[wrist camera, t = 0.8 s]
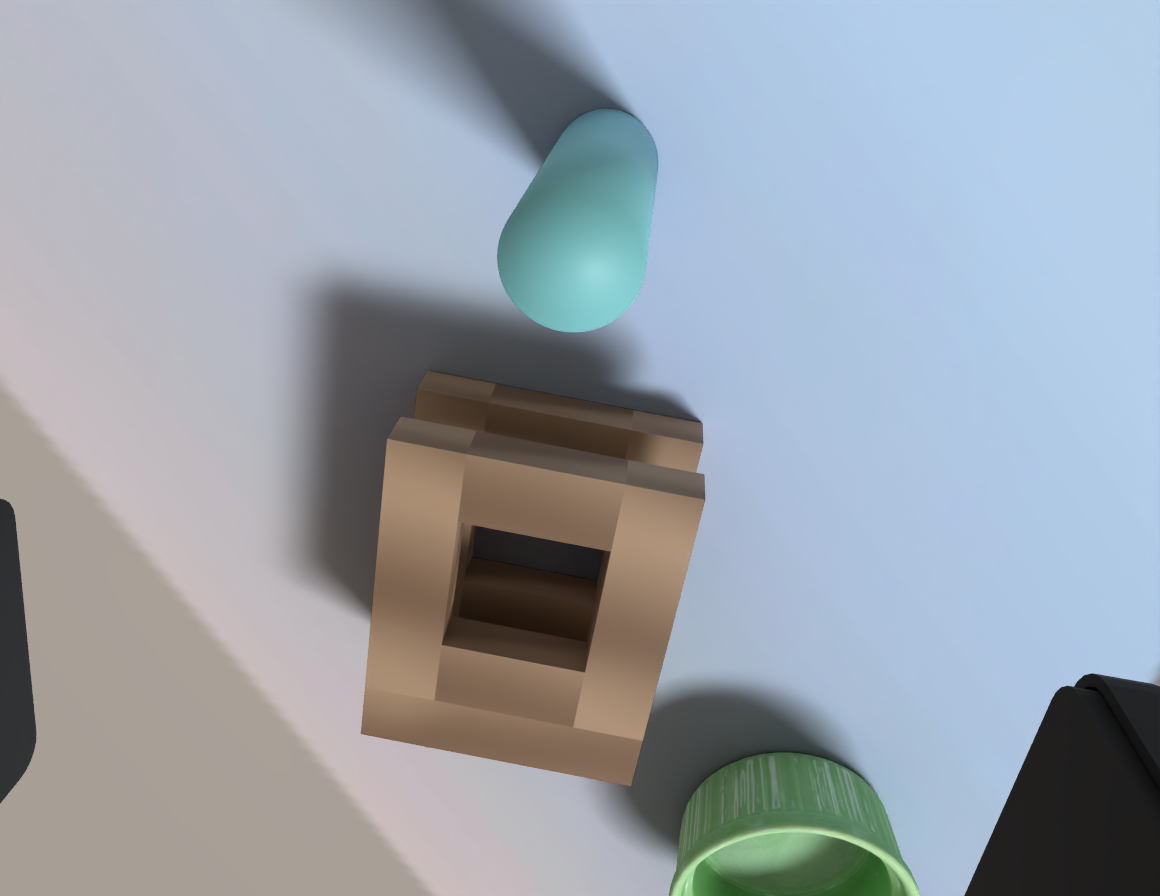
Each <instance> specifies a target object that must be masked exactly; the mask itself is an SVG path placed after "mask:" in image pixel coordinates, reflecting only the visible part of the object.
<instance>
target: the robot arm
mask: <svg viewBox="0 0 1160 896" xmlns="http://www.w3.org/2000/svg"><path fill="white" fill-rule="evenodd" d="M35 743H36V724H35V715H34V704H33V694H32V684H31V674H30V663H29V654H28V643H27V633H26V622H25V614H24V603H23V592H22V582H21V571H20V562H19V551H18V541H17V531H16V521H15V515H14V510H13V508H12V506H11V505H10V503H9V502H7V501H6V500H3V499H0V803H1V802H2V801H3V799H4V798H5V797H6V796H7V794H8V793H9V792H10V791H11V789H12V788H13V787H14V786H15V785H16V783H17V782H18V781H19V780H20V778H21V777H22V775H23V774H24V772H25V771H26V769H27V767H28V765H29V763H30V761H31V758H32V755H33V752H34V748H35ZM965 896H1160V687H1159V686H1157V685H1154V684H1150V683H1144V682H1138V681H1132V680H1127V679H1121V678H1115V677H1110V676H1104V675H1098V674H1088V675H1084V676H1083V677H1082V678H1081V679H1080V680H1079V681H1077V683H1076V685H1075V686H1074V687H1071V686H1065V687H1061V688H1060V689H1059V690H1058V691H1057V692H1056V693H1055V695H1054V697H1053V698H1052V700H1051V703H1050V705H1049V707H1048V709H1047V711H1046V714H1045V716H1044V718H1043V720H1042V723H1041V725H1040V727H1039V729H1038V732H1037V734H1036V736H1035V738H1034V741H1033V743H1032V745H1031V747H1030V750H1029V752H1028V754H1027V756H1026V759H1025V761H1024V763H1023V765H1022V768H1021V770H1020V772H1019V774H1018V777H1017V779H1016V781H1015V783H1014V786H1013V788H1012V790H1011V792H1010V795H1009V797H1008V799H1007V801H1006V804H1005V806H1004V808H1003V810H1002V812H1001V815H1000V817H999V819H998V821H997V824H996V826H995V828H994V830H993V833H992V835H991V837H990V839H989V842H988V844H987V846H986V848H985V851H984V853H983V855H982V857H981V860H980V862H979V864H978V866H977V869H976V871H975V873H974V875H973V878H972V880H971V882H970V884H969V887H968V889H967V891H966V893H965Z"/></svg>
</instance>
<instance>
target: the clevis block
mask: <svg viewBox="0 0 1160 896" xmlns="http://www.w3.org/2000/svg"><path fill="white" fill-rule="evenodd" d="M702 447H703V423H699V422H694V421H688V420H683V419H678V418H673V417H668V416H662V415H657V414H652V413H647V412H641V411H636V410H631V409H626V408H621V407H615V406H610V405H605V404H600V403H594V402H589V401H584V400H579V399H574V398H568V397H563V396H558V395H553V394H547V393H542V392H537V391H532V390H526V389H521V388H516V387H511V386H506V385H500V384H495V383H490V382H485V381H479V380H474V379H469V378H464V377H459V376H453V375H448V374H443V373H438V372H432V371H427V372H426V374H425V376H424V377H423V379H422V381H421V382H420V384H419V386H418V388H417V390H416V400H415V410H414V419H412V418H407V417H402V416H400V418H399V420H398V421H397V423H396V425H395V426H394V428H393V430H392V431H391V433H390V435H389V436H388V438H387V446H386V457H385V468H384V479H383V491H382V502H381V513H380V524H379V536H378V547H377V558H376V569H375V581H374V592H373V603H372V615H371V626H370V637H369V648H368V660H367V671H366V682H365V693H364V705H363V716H362V727H361V734H364V735H369V736H374V737H379V738H384V739H389V740H395V741H400V742H405V743H410V744H415V745H420V746H426V747H431V748H436V749H441V750H446V751H451V752H456V753H462V754H467V755H472V756H477V757H482V758H487V759H493V760H498V761H503V762H508V763H513V764H518V765H523V766H529V767H534V768H539V769H544V770H549V771H554V772H560V773H565V774H570V775H575V776H580V777H585V778H590V779H596V780H601V781H606V782H611V783H616V784H621V785H627V786H631V784H632V780H633V777H634V773H635V769H636V765H637V761H638V757H639V753H640V750H641V746H642V742H643V738H644V734H645V730H646V726H647V723H648V719H649V715H650V711H651V707H652V703H653V699H654V696H655V692H656V688H657V684H658V680H659V676H660V672H661V669H662V665H663V661H664V657H665V653H666V649H667V645H668V642H669V638H670V634H671V630H672V626H673V622H674V618H675V614H676V611H677V607H678V603H679V599H680V595H681V591H682V587H683V584H684V580H685V576H686V572H687V568H688V564H689V560H690V557H691V553H692V549H693V545H694V541H695V537H696V533H697V530H698V526H699V522H700V518H701V514H702V510H703V506H704V503H705V480H704V474H699V473H696V471H697V467H698V463H699V459H700V455H701V451H702ZM476 526H480V527H485V528H491V529H496V530H501V531H506V532H511V533H517V534H522V535H527V536H532V537H537V538H542V539H548V540H553V541H558V542H563V543H568V544H574V545H579V546H584V547H589V548H594V549H600V550H604V553H603V557H602V562H601V567H600V572H599V576H598V581H594V580H589V579H584V578H579V577H573V576H568V575H563V574H558V573H553V572H547V571H542V570H537V569H532V568H527V567H521V566H516V565H511V564H506V563H501V562H495V561H490V560H485V559H480V558H475V557H472V552H473V545H474V538H475V531H476Z"/></svg>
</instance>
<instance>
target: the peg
mask: <svg viewBox="0 0 1160 896" xmlns="http://www.w3.org/2000/svg"><path fill="white" fill-rule="evenodd" d="M657 171H658V154H657V149H656V145H655V143H654V140H653V138H652V136H651V134H650V133H649V131H648V130H647V129H646V127H645V126H644V125H643V124H642V123H641V122H640V121H639V120H637V119H636V118H635V117H633V116H631V115H630V114H628V113H625V112H623V111H619V110H615V109H597V110H593V111H589V112H587V113H584V114H582V115H581V116H579V117H577V118H576V119H575V120H573V121H572V122H571V123H570V124H569V125H568V126H567V127H566V129H565V130H564V131H563V133H562V134H561V136H560V138H559V139H558V141H557V142H556V144H555V146H554V147H553V149H552V150H551V152H550V154H549V155H548V157H547V158H546V160H545V162H544V163H543V165H542V166H541V168H540V169H539V171H538V173H537V174H536V176H535V177H534V179H533V181H532V182H531V184H530V185H529V187H528V189H527V190H526V192H525V193H524V195H523V197H522V198H521V200H520V201H519V203H518V205H517V206H516V208H515V209H514V211H513V213H512V214H511V216H510V217H509V219H508V221H507V222H506V224H505V226H504V228H503V231H502V234H501V236H500V240H499V245H498V254H497V260H498V270H499V275H500V278H501V281H502V284H503V286H504V288H505V290H506V292H507V294H508V296H509V297H510V299H511V300H512V302H513V303H514V304H515V305H516V307H517V308H518V309H519V310H520V311H521V312H523V313H524V314H525V315H526V316H527V317H529V318H530V319H531V320H533V321H535V322H536V323H538V324H540V325H542V326H545V327H547V328H550V329H553V330H557V331H563V332H585V331H590V330H594V329H598V328H600V327H603V326H605V325H607V324H609V323H611V322H613V321H614V320H616V319H617V318H618V317H620V316H621V315H622V314H623V313H624V312H625V311H626V310H627V309H628V308H629V307H630V306H631V304H632V303H633V302H634V300H635V299H636V297H637V295H638V294H639V291H640V289H641V287H642V284H643V280H644V277H645V270H646V262H647V254H648V246H649V237H650V229H651V221H652V212H653V204H654V196H655V188H656V179H657Z"/></svg>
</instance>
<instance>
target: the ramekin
mask: <svg viewBox="0 0 1160 896" xmlns="http://www.w3.org/2000/svg"><path fill="white" fill-rule="evenodd" d="M669 896H920V892H919V889H918V886H917V884H916V882H915V880H914V878H913V876H912V874H911V871H910V870H909V868H908V867H907V865H906V864H905V862H904V861H903V859H902V856H901V854H900V851H899V848H898V845H897V842H896V839H895V836H894V833H893V830H892V827H891V825H890V822H889V819H888V816H887V814H886V811H885V809H884V806H883V804H882V802H881V801H880V799H879V797H878V796H877V794H876V793H875V792H874V791H873V789H872V788H871V787H870V786H869V785H868V784H867V783H866V782H865V781H864V780H863V779H862V778H860V777H859V776H858V775H857V774H855V773H854V772H852V771H850V770H849V769H847V768H845V767H843V766H841V765H839V764H837V763H835V762H833V761H830V760H827V759H824V758H821V757H816V756H812V755H807V754H801V753H790V752H775V753H766V754H759V755H755V756H750V757H746V758H743V759H741V760H738V761H736V762H733V763H731V764H729V765H727V766H725V767H723V768H721V769H719V770H718V771H716V772H715V773H713V774H712V775H710V776H709V777H708V778H707V779H706V780H705V781H704V782H702V784H701V785H700V786H699V787H698V788H697V789H696V791H695V792H694V793H693V795H692V797H691V798H690V800H689V801H688V803H687V806H686V809H685V811H684V814H683V819H682V824H681V829H680V837H679V848H678V859H677V868H676V872H675V875H674V877H673V880H672V883H671V887H670V892H669Z"/></svg>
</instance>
